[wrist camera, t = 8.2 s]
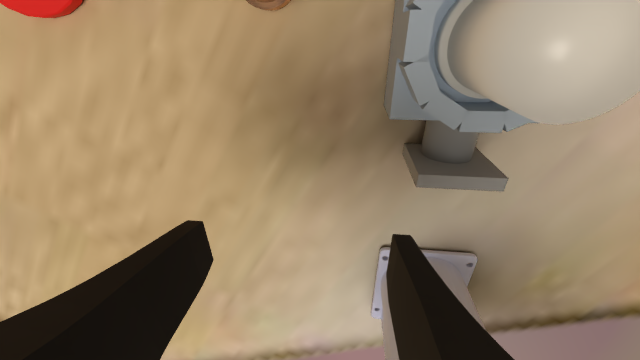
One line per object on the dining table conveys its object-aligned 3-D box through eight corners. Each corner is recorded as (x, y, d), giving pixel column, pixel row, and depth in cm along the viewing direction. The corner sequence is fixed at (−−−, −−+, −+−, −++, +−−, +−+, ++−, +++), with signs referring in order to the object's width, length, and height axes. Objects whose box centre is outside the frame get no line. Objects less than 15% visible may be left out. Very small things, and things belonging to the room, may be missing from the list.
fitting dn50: (513, 101, 13) (615, 146, 8) (419, 85, 14) (461, 119, 8) (573, -14, 11) (769, -54, 6) (458, -33, 11) (551, -89, 6)
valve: (541, 159, 18) (602, 200, 14) (378, 153, 19) (385, 189, 15) (690, -176, 11) (921, -319, 6) (412, -156, 12) (447, -266, 7)
